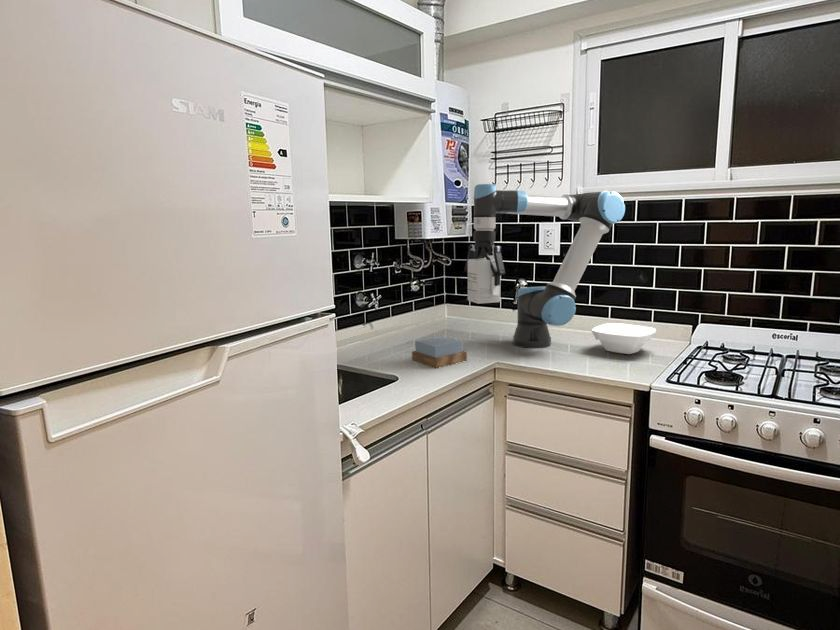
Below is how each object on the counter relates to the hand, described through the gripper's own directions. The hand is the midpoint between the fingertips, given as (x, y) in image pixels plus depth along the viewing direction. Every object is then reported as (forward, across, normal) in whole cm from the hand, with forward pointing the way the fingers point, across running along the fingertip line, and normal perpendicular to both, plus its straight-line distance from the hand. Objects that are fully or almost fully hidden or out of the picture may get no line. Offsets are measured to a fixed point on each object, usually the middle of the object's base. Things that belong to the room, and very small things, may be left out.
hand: (483, 293), depth 188 cm
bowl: (+24, +27, +46) cm, 58 cm away
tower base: (+25, -10, -12) cm, 30 cm away
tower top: (+21, -10, -13) cm, 26 cm away
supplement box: (+3, 0, 0) cm, 3 cm away
